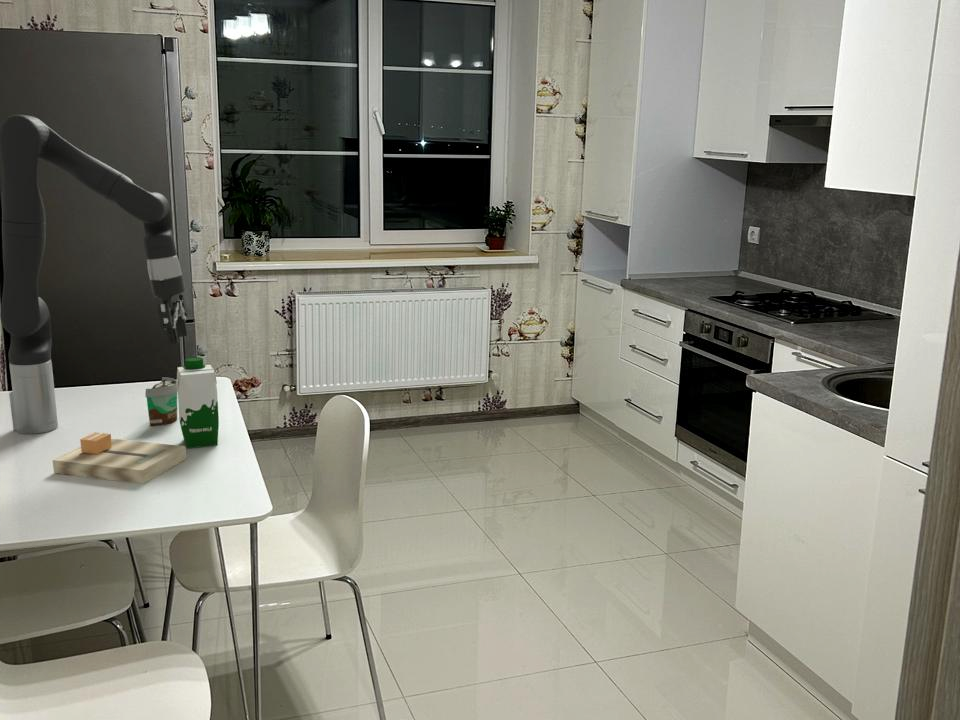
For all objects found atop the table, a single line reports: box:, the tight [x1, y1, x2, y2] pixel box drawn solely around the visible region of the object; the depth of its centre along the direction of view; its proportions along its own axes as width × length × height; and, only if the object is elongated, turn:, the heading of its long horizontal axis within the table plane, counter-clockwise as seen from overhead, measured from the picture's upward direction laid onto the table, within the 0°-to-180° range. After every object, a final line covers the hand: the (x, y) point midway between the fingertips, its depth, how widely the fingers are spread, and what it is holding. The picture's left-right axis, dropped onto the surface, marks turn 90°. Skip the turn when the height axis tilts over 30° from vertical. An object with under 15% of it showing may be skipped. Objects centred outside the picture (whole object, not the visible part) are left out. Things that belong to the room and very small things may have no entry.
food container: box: [144, 376, 178, 427], centre depth 232 cm, size 12×6×10 cm, turn 179°
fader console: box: [52, 438, 187, 485], centre depth 200 cm, size 22×16×3 cm
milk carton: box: [176, 356, 220, 449], centre depth 214 cm, size 9×9×20 cm
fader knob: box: [80, 432, 112, 454], centre depth 201 cm, size 4×5×3 cm
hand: (178, 340), depth 225 cm, fingers open, 8 cm apart
